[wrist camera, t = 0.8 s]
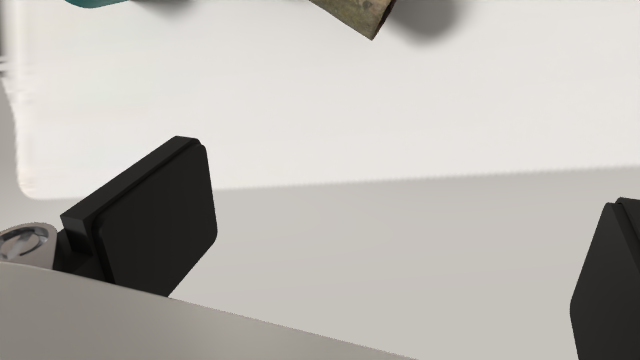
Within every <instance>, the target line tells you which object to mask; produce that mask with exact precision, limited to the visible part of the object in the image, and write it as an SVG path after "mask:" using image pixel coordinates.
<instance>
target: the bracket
mask: <svg viewBox="0 0 640 360" xmlns="http://www.w3.org/2000/svg"><path fill="white" fill-rule="evenodd" d="M65 1H67V2H69V3H71V4H73V5H76V6H79V7H83V8H97V7H101V6H106V5H110V4H115V3H119V2H124V1H128V0H65Z"/></svg>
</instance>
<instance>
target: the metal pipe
mask: <svg viewBox="0 0 640 360" xmlns="http://www.w3.org/2000/svg"><path fill="white" fill-rule="evenodd" d="M309 1H311V2H312V3H314V4H316V5H317V6H319V7H321V8H322V9H324V10H326V11H327V12H329V13H330V14H332V15H333V16H334V17H336V18H337V19H339V20H340V21H342V22H343V23H345V24H346V25H348V26H349V27H351V28H353V29H354V30H356V31H357V32H359V33H360V34H362V35H364V36H365V37H367V38H368V39H370V40H371V41H372V40H373V39H374V37H375V36H376V35H377V33H378V31H379V30H380V28H381V26H382V25H383V24H384V22H385V20H386V18H387V17H388V15H389V14H390V12H391V10H392V8H393V6H394V3H395V1H396V0H309Z"/></svg>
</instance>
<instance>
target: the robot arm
mask: <svg viewBox="0 0 640 360" xmlns="http://www.w3.org/2000/svg"><path fill="white" fill-rule="evenodd" d="M60 218H61V220H62V223H63V226H64V229H62V230H61V231H60V232H58V233H57V230H56V228H55V227H54V226H52V225H50V224H47V223H38V222H34V223H27V224H21V225H17V226H14V227H11V228H8V229H6V230H3V231H1V232H0V360H417V359H413V358H409V357H405V356H401V355H397V354H393V353H389V352H385V351H381V350H377V349H373V348H369V347H365V346H361V345H357V344H353V343H349V342H345V341H341V340H337V339H333V338H329V337H325V336H321V335H317V334H313V333H309V332H305V331H301V330H297V329H293V328H289V327H285V326H281V325H277V324H273V323H269V322H265V321H261V320H257V319H253V318H249V317H244V316H240V315H237V314H233V313H228V312H225V311H220V310H217V309H213V308H208V307H204V306H200V305H196V304H192V303H188V302H184V301H180V300H176V299H172V298H168V296H169V295H170V293H171V292H172V291H173V290H174V289H175V288H176V287H177V285H178V284H179V283H180V282H181V281H182V280H183V278H184V277H185V276H186V275H187V274H188V272H189V271H190V270H191V269H192V268H193V267H194V265H195V264H196V263H197V262H198V261H199V260H200V258H201V257H202V256H203V255H204V254H205V253H206V251H207V250H208V249H209V248H210V247H211V246H212V244H213V243H214V242H215V240H216V237H217V222H216V215H215V208H214V201H213V194H212V187H211V180H210V173H209V166H208V159H207V152H206V148H205V146H204V145H201V143H200V141H199V140H198V139H196V138H189V137H182V136H175V137H173V138H171V139H170V140H168V141H167V142H165V143H164V144H163V145H161V146H160V147H158V148H157V149H155V150H154V151H152V152H151V153H150V154H148V155H147V156H145V157H144V158H142V159H141V160H139V161H138V162H136V163H135V164H134V165H132V166H131V167H129V168H128V169H126V170H125V171H123V172H122V173H121V174H119V175H118V176H116V177H115V178H113V179H112V180H110V181H109V182H108V183H106V184H105V185H103V186H102V187H100V188H99V189H97V190H96V191H95V192H93V193H92V194H90V195H89V196H87V197H86V198H84V199H83V200H82V201H80V202H79V203H77V204H76V205H74V206H73V207H71V208H70V209H69V210H67V211H66V212H64V213H63V214H61V215H60ZM570 318H571V323H572V328H573V333H574V338H575V344H576V349H577V354H578V359H579V360H640V200H637V199H629V198H623V197H620V198H618V199H617V201H616V202H615V203H609V202H608V203H606V204H605V206H604V208H603V211H602V214H601V216H600V219H599V222H598V225H597V228H596V231H595V234H594V236H593V239H592V242H591V245H590V248H589V251H588V253H587V256H586V259H585V262H584V265H583V267H582V270H581V273H580V276H579V279H578V282H577V285H576V287H575V290H574V293H573V296H572V299H571V303H570Z"/></svg>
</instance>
